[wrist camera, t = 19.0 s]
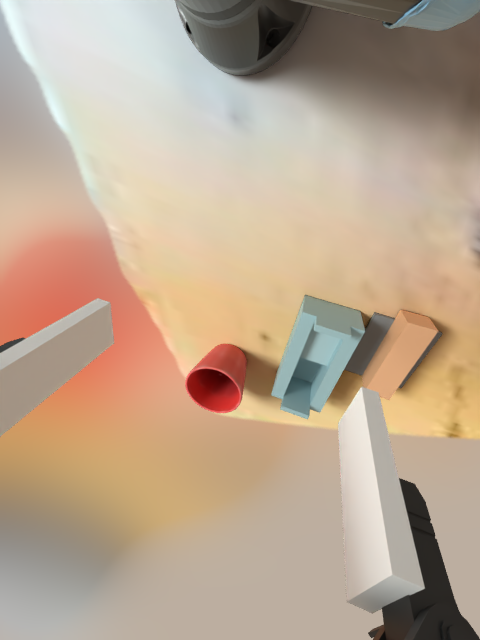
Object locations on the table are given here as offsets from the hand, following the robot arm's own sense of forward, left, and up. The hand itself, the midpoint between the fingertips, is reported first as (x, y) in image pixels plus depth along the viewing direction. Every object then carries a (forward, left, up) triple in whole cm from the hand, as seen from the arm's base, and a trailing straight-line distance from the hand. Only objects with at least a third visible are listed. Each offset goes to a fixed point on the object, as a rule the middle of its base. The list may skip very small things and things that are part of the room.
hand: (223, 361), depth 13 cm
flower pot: (+27, -5, -31) cm, 41 cm away
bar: (+13, +21, -30) cm, 39 cm away
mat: (+14, +21, -31) cm, 40 cm away
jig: (+18, +10, -31) cm, 37 cm away
